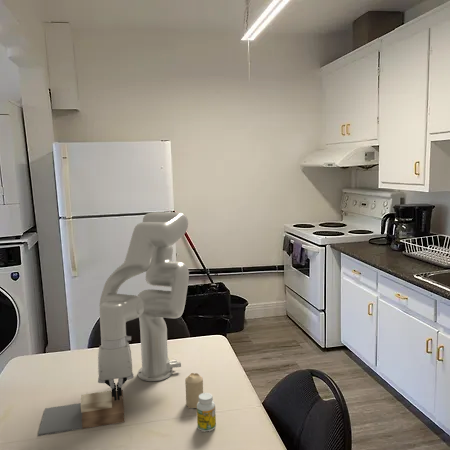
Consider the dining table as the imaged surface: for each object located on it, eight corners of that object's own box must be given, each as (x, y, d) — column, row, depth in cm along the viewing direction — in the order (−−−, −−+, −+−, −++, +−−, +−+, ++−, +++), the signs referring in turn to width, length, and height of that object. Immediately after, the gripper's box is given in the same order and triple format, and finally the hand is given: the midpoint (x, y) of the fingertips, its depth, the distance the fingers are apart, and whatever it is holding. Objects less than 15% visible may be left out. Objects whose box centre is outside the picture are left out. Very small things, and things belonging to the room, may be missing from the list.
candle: (190, 411, 135) (189, 380, 134) (183, 402, 140) (182, 373, 139) (206, 406, 138) (205, 376, 136) (199, 398, 143) (198, 369, 141)
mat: (85, 404, 141) (85, 402, 140) (82, 428, 127) (82, 427, 127) (45, 409, 138) (45, 408, 137) (38, 435, 124) (38, 434, 124)
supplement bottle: (218, 423, 128) (217, 393, 127) (211, 434, 123) (210, 402, 122) (202, 420, 130) (201, 390, 129) (194, 430, 125) (193, 399, 124)
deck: (123, 398, 144) (122, 389, 143) (124, 421, 130) (124, 412, 130) (85, 404, 141) (84, 395, 140) (82, 428, 127) (81, 419, 127)
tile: (111, 397, 138) (111, 390, 138) (112, 407, 132) (111, 399, 132) (81, 402, 136) (81, 394, 135) (81, 412, 130) (80, 404, 130)
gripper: (137, 334, 139) (140, 388, 141) (88, 340, 135) (92, 395, 137) (139, 343, 132) (142, 400, 134) (88, 349, 128) (91, 408, 130)
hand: (117, 398), depth 136 cm, fingers closed
